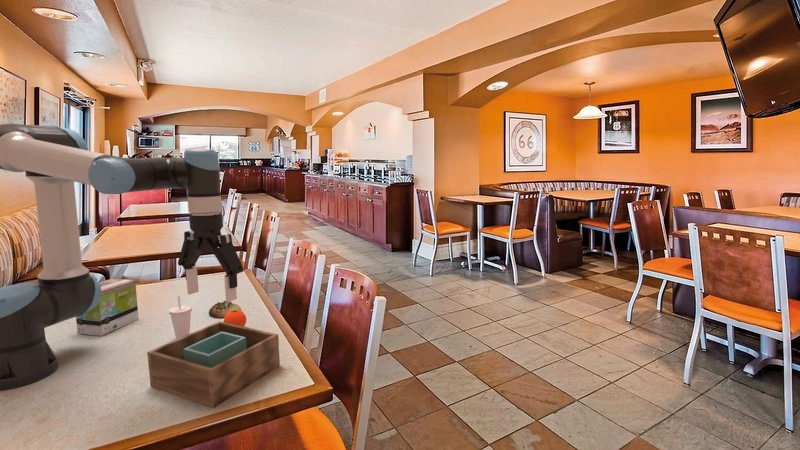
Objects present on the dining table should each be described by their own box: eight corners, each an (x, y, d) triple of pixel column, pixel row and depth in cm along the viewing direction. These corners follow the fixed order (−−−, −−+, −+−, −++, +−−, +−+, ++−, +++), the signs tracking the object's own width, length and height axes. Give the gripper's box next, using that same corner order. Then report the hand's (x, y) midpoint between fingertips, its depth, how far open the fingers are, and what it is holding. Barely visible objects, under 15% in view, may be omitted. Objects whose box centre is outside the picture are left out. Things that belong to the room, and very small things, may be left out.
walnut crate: (213, 407, 97) (210, 370, 96) (150, 386, 107) (147, 352, 105) (279, 365, 117) (278, 334, 115) (221, 350, 126) (219, 321, 125)
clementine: (224, 327, 143) (222, 306, 142) (245, 324, 146) (244, 304, 145) (224, 336, 136) (223, 314, 135) (247, 332, 139) (246, 311, 138)
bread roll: (205, 311, 158) (206, 298, 157) (236, 309, 165) (237, 296, 164) (212, 322, 149) (213, 308, 149) (244, 319, 156) (246, 305, 155)
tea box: (103, 336, 136) (97, 292, 134) (76, 334, 138) (71, 290, 136) (140, 319, 151) (135, 278, 149) (115, 317, 153) (111, 277, 151)
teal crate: (211, 386, 104) (208, 356, 103) (185, 378, 108) (183, 349, 107) (247, 365, 115) (246, 337, 114) (223, 358, 119) (221, 331, 118)
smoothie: (169, 343, 131) (165, 299, 129) (174, 335, 137) (170, 293, 135) (192, 341, 133) (188, 297, 130) (195, 333, 139) (192, 291, 137)
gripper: (255, 214, 103) (260, 299, 106) (184, 209, 114) (190, 286, 117) (231, 218, 96) (236, 308, 100) (158, 212, 107) (165, 293, 110)
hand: (211, 296), depth 108 cm, fingers open, 13 cm apart
